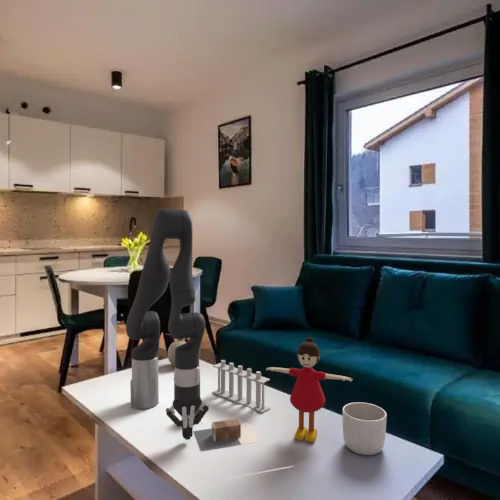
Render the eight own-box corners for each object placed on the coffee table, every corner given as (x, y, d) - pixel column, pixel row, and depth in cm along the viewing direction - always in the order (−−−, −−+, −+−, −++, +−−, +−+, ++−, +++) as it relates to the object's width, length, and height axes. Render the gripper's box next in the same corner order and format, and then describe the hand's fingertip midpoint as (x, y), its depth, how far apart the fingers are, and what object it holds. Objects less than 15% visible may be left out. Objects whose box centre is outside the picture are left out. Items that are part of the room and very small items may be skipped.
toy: (260, 435, 129) (261, 339, 127) (271, 419, 140) (272, 330, 138) (349, 452, 120) (351, 349, 118) (353, 434, 130) (355, 339, 128)
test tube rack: (270, 409, 147) (270, 372, 146) (261, 414, 144) (262, 376, 143) (220, 390, 164) (220, 357, 163) (212, 393, 161) (212, 359, 160)
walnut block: (214, 428, 125) (240, 424, 127) (211, 422, 128) (237, 418, 131) (214, 441, 125) (240, 437, 127) (211, 435, 129) (236, 431, 131)
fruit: (197, 365, 192) (197, 332, 191) (177, 371, 184) (177, 337, 183) (182, 360, 199) (182, 328, 198) (162, 366, 191) (162, 333, 190)
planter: (340, 455, 118) (341, 418, 118) (342, 434, 130) (343, 400, 130) (386, 462, 115) (387, 423, 114) (384, 440, 127) (385, 404, 126)
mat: (200, 452, 120) (200, 451, 119) (193, 432, 131) (193, 431, 131) (260, 442, 125) (260, 441, 125) (248, 424, 136) (248, 422, 136)
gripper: (165, 388, 117) (166, 448, 119) (212, 383, 122) (212, 441, 123) (162, 378, 125) (163, 435, 126) (206, 374, 129) (206, 429, 130)
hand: (187, 438), depth 124 cm, fingers closed
